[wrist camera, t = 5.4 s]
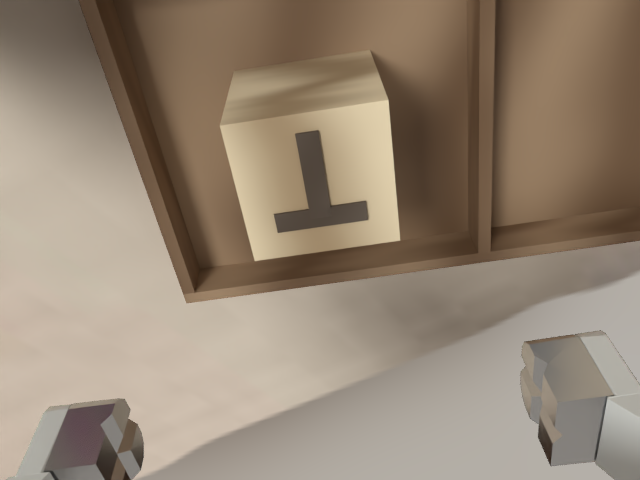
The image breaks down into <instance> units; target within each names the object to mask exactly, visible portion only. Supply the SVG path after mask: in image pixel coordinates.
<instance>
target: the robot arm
mask: <svg viewBox="0 0 640 480" xmlns="http://www.w3.org/2000/svg"><path fill="white" fill-rule="evenodd" d="M522 358H523V360H524V363H525V365H526V366H525V368H524V369H523V370H522V371H521V380H520V381H521V382H520V384H521V391H522V397H523V401H524V404H525V407H526V410H527V412H528V415H529V417H530V419H532V420H533V421H535V422H536V423H537V424H539V430H538V438H539V441H540V443H541V445H542V448H543V450H544V452H545V454H546V457H547V459H548V461H549V464H550V466H557V465H567V464H576V463H586V462H596V465H598V466H599V467H600V468H601V469H602V470H604V471H605V472H606V473H607V474H608V475H610V476H611V477H612V478H613V479H614V480H640V384H639V383H638V381H637V379H636V378H635V376H634V375H633V373H632V372H631V370H630V369H629V368H628V366H627V365H626V363H625V362H624V360H623V359H622V357H621V356H620V354H619V353H618V351H617V350H616V348H615V347H614V345H613V344H612V342H611V341H610V339H609V338H608V336H607V335H606V333H604V332H603V331H601V330H600V331H594V332H587V333H580V334H575V335H566V336H559V337H553V338H546V339H540V340H532V341H526V342H524V344H523V346H522ZM129 414H130V408H129V406H128V404H127V402H126V401H125V399H120V398H118V399H110V400H101V401H92V402H83V403H74V404H69V405H60V406H52V407H49V408H48V409H47V410H46V411H45V412H44V413H43V415H42V418H41V420H40V422H39V424H38V427H37V429H36V431H35V433H34V436H33V438H32V440H31V442H30V445H29V447H28V449H27V451H26V454H25V456H24V458H23V460H22V463H21V465H20V467H19V470H18V472H17V474H16V476H14V477H8V478H7V479H6V480H132V479H133V478H134V477H135V476H136V475H137V474H138V473H139V471H140V470H141V467H142V462H143V458H144V442H143V437H142V433H141V430H140V428H139V426H138V424H136V423H135V422H133V421H131V420H130V419H128V417H129Z"/></svg>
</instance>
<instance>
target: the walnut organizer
mask: <svg viewBox="0 0 640 480" xmlns="http://www.w3.org/2000/svg"><path fill="white" fill-rule="evenodd" d="M79 3H80V6H81V9H82V12H83V14H84V17H85V20H86V23H87V26H88V28H89V31H90V34H91V37H92V40H93V42H94V45H95V48H96V51H97V54H98V56H99V59H100V62H101V65H102V68H103V70H104V73H105V76H106V79H107V82H108V84H109V87H110V90H111V93H112V96H113V99H114V101H115V104H116V107H117V110H118V113H119V115H120V118H121V121H122V124H123V127H124V129H125V132H126V135H127V138H128V141H129V143H130V146H131V149H132V152H133V155H134V157H135V160H136V163H137V166H138V169H139V171H140V174H141V177H142V180H143V183H144V185H145V188H146V191H147V194H148V197H149V199H150V202H151V205H152V208H153V211H154V213H155V216H156V219H157V222H158V225H159V227H160V230H161V233H162V236H163V239H164V241H165V244H166V247H167V250H168V253H169V255H170V258H171V261H172V264H173V267H174V269H175V272H176V275H177V278H178V281H179V283H180V286H181V289H182V292H183V295H184V297H185V300H186V303H192V302H199V301H207V300H214V299H221V298H228V297H236V296H243V295H250V294H257V293H265V292H272V291H279V290H286V289H293V288H301V287H308V286H315V285H322V284H330V283H337V282H344V281H351V280H358V279H366V278H373V277H380V276H387V275H395V274H402V273H409V272H416V271H424V270H431V269H438V268H445V267H452V266H460V265H467V264H474V263H481V262H489V261H496V260H503V259H510V258H518V257H525V256H532V255H539V254H546V253H554V252H561V251H568V250H575V249H583V248H590V247H597V246H604V245H612V244H619V243H626V242H633V241H640V0H79ZM366 50H370V51H371V54H372V57H373V59H374V62H375V65H376V68H377V70H378V73H379V76H380V78H381V81H382V84H383V86H384V89H385V92H386V95H387V97H388V101H389V113H390V124H391V136H392V148H393V160H394V172H395V184H396V195H397V207H398V219H399V231H400V241H394V242H387V243H380V244H373V245H366V246H358V247H351V248H344V249H337V250H330V251H323V252H316V253H309V254H302V255H295V256H288V257H281V258H273V259H266V260H259V261H255V260H254V256H253V253H252V249H251V245H250V241H249V237H248V233H247V229H246V225H245V222H244V218H243V214H242V210H241V206H240V202H239V198H238V195H237V191H236V187H235V183H234V179H233V175H232V171H231V167H230V164H229V160H228V156H227V152H226V148H225V144H224V140H223V137H222V133H221V129H220V123H221V119H222V115H223V111H224V107H225V104H226V100H227V96H228V92H229V88H230V85H231V81H232V77H233V73H234V71H239V70H246V69H252V68H258V67H265V66H271V65H277V64H284V63H290V62H296V61H303V60H309V59H315V58H322V57H328V56H334V55H341V54H347V53H353V52H360V51H366Z"/></svg>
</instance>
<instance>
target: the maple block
mask: <svg viewBox="0 0 640 480" xmlns="http://www.w3.org/2000/svg"><path fill="white" fill-rule="evenodd" d="M220 129H221V133H222V137H223V140H224V144H225V148H226V152H227V156H228V160H229V164H230V167H231V171H232V175H233V179H234V183H235V187H236V191H237V195H238V198H239V202H240V206H241V210H242V214H243V218H244V222H245V225H246V229H247V233H248V237H249V241H250V245H251V249H252V253H253V256H254V260H255V261H259V260H266V259H273V258H281V257H288V256H295V255H302V254H309V253H316V252H323V251H330V250H337V249H344V248H351V247H358V246H366V245H373V244H380V243H387V242H394V241H400V231H399V219H398V207H397V195H396V184H395V172H394V160H393V148H392V136H391V124H390V113H389V101H388V97H387V95H386V92H385V89H384V86H383V84H382V81H381V78H380V76H379V73H378V70H377V68H376V65H375V62H374V59H373V57H372V54H371V51H370V50H366V51H360V52H353V53H347V54H341V55H334V56H328V57H322V58H315V59H309V60H303V61H296V62H290V63H284V64H277V65H271V66H265V67H258V68H252V69H246V70H239V71H234V73H233V77H232V81H231V85H230V88H229V92H228V96H227V100H226V104H225V107H224V111H223V115H222V119H221V123H220Z"/></svg>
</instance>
